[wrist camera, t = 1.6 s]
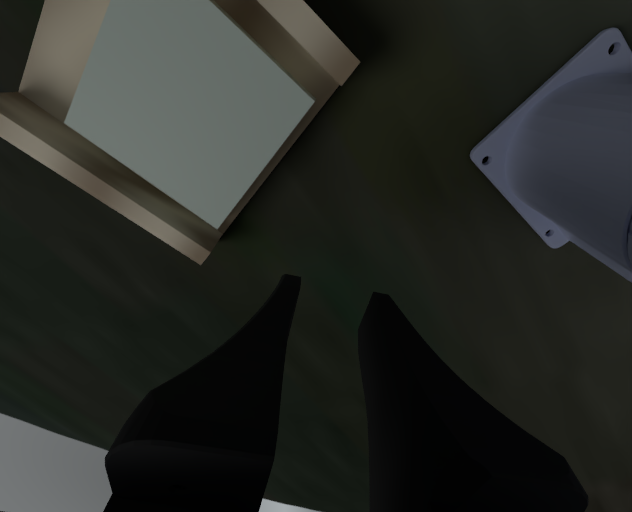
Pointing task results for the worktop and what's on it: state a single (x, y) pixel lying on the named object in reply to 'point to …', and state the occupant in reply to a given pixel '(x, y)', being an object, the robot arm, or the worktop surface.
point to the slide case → (110, 174)
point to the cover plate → (186, 101)
